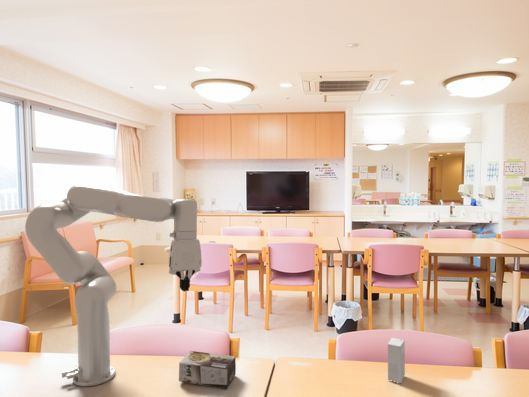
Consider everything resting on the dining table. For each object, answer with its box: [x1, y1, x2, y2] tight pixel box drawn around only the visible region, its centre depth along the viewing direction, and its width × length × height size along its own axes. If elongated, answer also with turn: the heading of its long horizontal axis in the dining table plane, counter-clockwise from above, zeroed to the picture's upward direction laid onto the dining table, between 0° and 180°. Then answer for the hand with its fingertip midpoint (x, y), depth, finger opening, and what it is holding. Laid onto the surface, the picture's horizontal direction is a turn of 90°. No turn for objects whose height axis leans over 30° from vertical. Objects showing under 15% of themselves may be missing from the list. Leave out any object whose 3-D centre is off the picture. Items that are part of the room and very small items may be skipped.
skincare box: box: [387, 337, 406, 384], centre depth 119 cm, size 6×4×12 cm
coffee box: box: [178, 350, 237, 390], centre depth 119 cm, size 9×6×16 cm
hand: (184, 290), depth 124 cm, fingers closed
